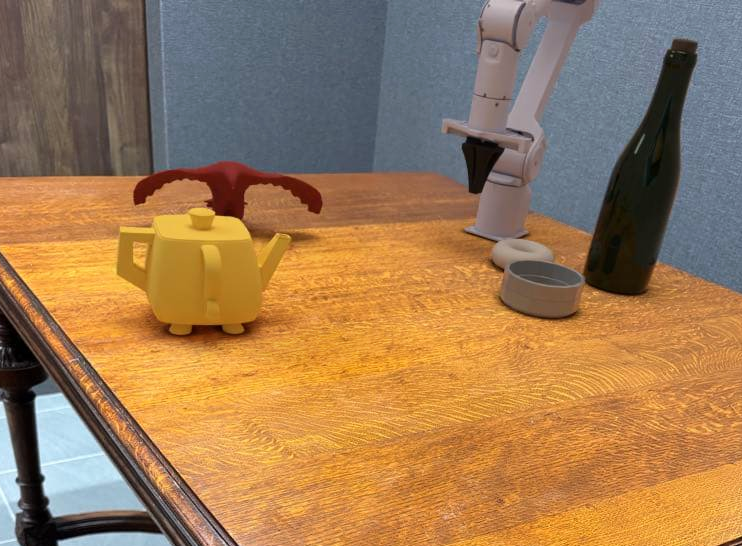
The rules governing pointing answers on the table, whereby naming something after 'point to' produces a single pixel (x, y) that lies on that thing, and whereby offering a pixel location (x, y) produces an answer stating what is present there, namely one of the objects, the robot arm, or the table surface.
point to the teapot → (200, 269)
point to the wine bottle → (643, 185)
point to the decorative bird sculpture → (229, 186)
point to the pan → (541, 288)
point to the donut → (519, 251)
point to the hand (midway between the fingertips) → (475, 192)
